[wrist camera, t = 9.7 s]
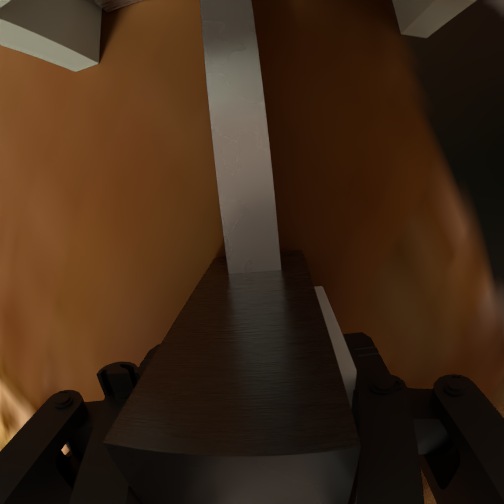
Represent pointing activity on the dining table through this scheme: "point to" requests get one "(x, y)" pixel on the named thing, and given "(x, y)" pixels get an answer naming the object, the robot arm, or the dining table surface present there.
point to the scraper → (240, 333)
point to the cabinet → (89, 25)
